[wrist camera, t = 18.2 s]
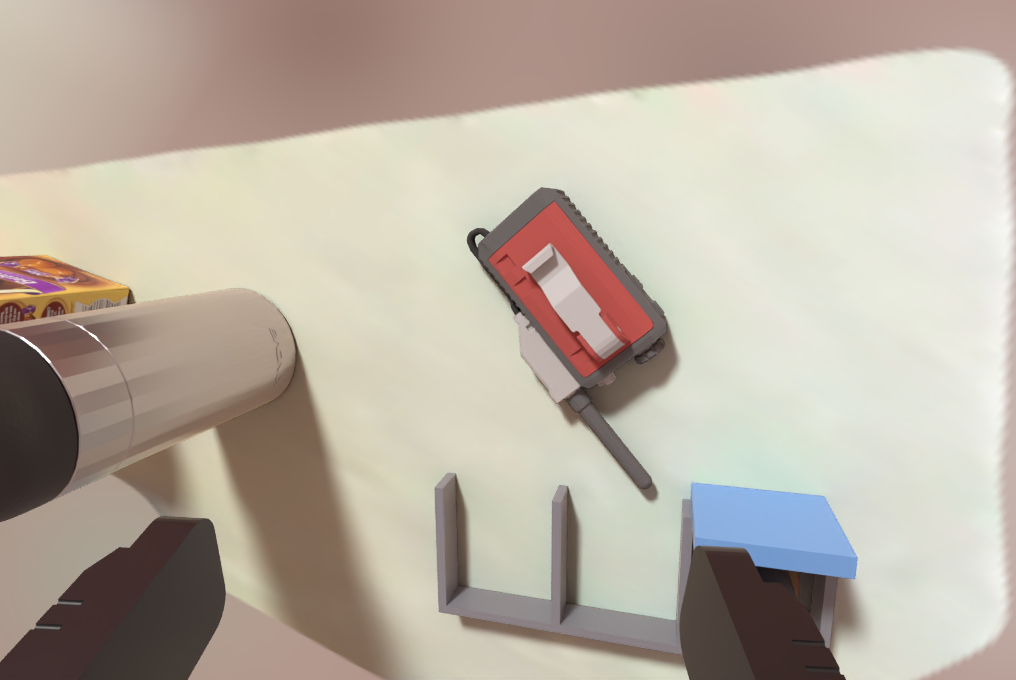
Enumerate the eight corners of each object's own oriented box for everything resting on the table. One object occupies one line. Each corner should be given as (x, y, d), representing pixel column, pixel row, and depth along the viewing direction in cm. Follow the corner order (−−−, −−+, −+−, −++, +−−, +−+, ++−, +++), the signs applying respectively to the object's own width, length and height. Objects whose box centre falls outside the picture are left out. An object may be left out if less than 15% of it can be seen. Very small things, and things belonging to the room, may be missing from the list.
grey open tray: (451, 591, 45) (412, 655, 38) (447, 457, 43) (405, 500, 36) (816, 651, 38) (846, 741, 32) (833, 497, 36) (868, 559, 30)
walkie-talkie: (450, 256, 40) (636, 487, 40) (425, 260, 36) (632, 518, 36) (548, 166, 37) (749, 414, 37) (532, 159, 33) (759, 439, 33)
